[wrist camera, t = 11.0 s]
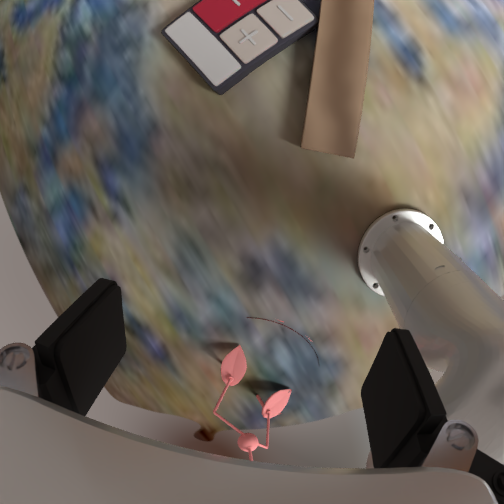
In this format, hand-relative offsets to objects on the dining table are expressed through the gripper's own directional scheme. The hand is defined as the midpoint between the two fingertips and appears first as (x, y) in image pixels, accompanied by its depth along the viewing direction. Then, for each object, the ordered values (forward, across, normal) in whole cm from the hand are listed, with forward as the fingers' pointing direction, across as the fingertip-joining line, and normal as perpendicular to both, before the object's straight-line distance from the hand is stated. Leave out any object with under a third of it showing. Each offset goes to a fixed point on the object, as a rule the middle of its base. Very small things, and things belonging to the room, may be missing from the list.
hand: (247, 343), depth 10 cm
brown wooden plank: (+30, -5, -21) cm, 37 cm away
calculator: (+31, +7, -19) cm, 37 cm away
